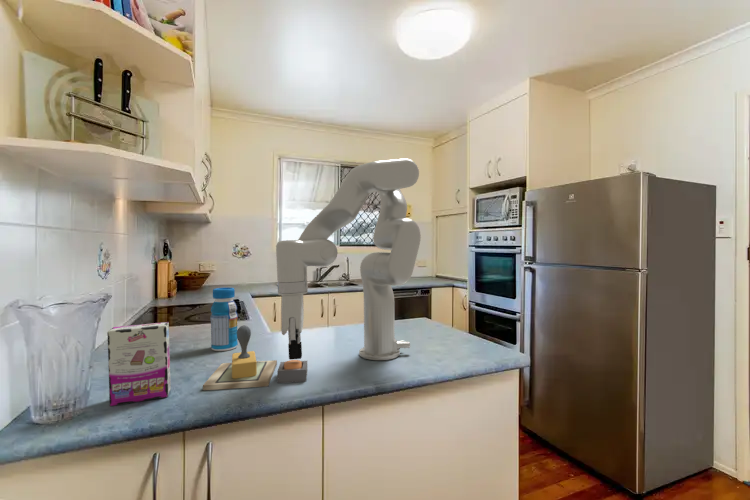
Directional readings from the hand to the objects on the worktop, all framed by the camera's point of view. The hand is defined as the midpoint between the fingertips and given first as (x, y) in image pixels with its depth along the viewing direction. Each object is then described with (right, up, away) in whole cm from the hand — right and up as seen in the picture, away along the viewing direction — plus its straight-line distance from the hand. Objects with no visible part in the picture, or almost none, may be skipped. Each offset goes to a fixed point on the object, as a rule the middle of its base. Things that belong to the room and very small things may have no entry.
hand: (295, 358), depth 93 cm
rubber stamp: (-14, -4, +1) cm, 14 cm away
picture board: (-14, -5, +1) cm, 15 cm away
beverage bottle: (-30, -5, +27) cm, 40 cm away
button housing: (0, -5, 0) cm, 5 cm away
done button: (-1, -5, 0) cm, 5 cm away
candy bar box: (-32, -6, -12) cm, 35 cm away
